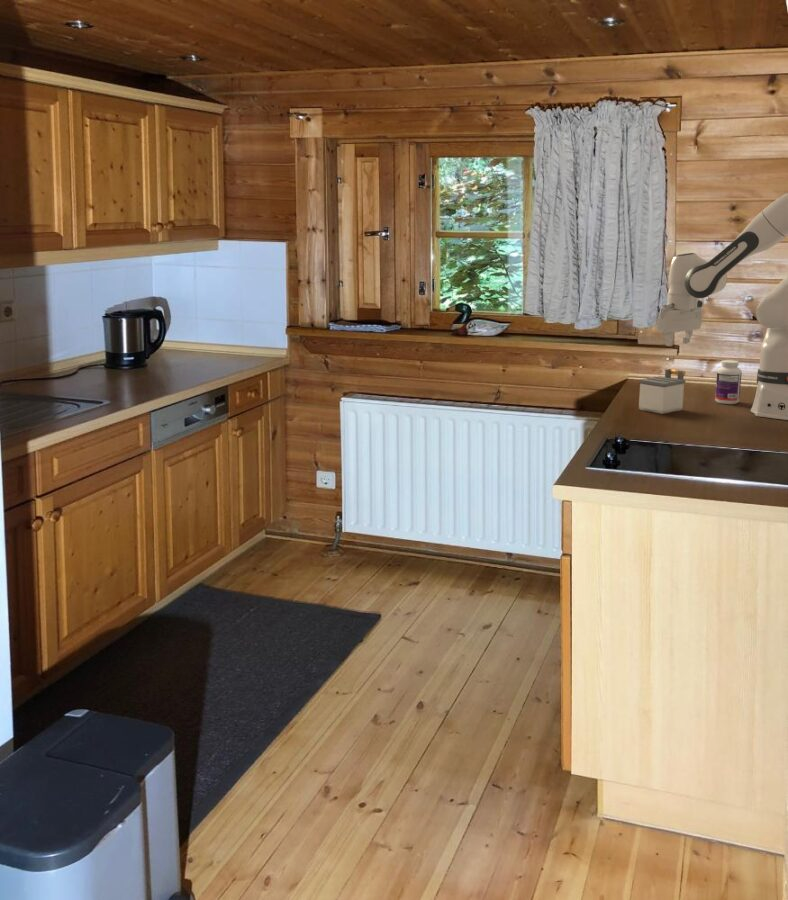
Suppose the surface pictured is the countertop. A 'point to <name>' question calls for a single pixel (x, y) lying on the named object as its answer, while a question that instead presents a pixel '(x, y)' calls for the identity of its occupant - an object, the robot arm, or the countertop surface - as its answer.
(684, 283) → the robot arm
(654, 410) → the tub
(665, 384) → the lid
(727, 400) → the pill bottle
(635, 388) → the countertop surface
